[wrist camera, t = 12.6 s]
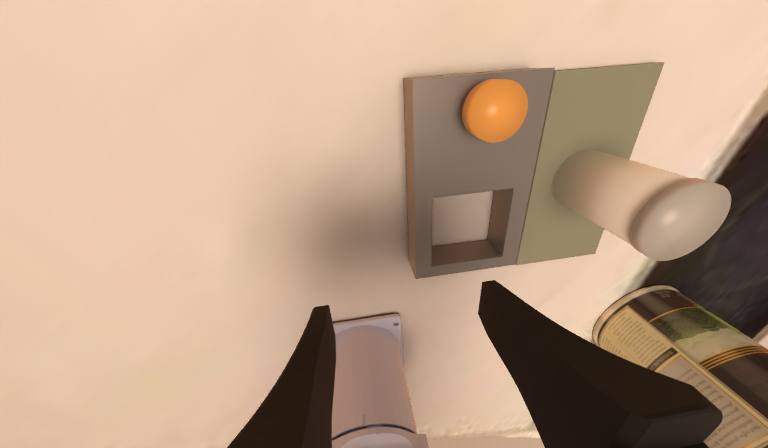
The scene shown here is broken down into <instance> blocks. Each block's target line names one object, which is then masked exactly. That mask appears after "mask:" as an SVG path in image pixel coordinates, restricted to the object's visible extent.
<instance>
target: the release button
mask: <svg viewBox="0 0 768 448" xmlns="http://www.w3.org/2000/svg"><path fill="white" fill-rule="evenodd" d="M527 110H528V98H527V94H526V92H525V90H524V88H523V87H522V86H521V85H520V84H519V83H517V82H515V81H513V80H508V79H488V80H485V81H483V82H481V83H479V84H478V85H476V86H475V87H474V88H473V89H472V90H471V91H470V93H469V94H468V96H467V97H466V99H465V102H464V105H463V109H462V120H463V124H464V126H465V128H466V130H467V131H468V132H469V133H470V134H471V135H473V136H475V137H477V138H479V139H481V140H484V141H486V142H490V143H497V142H501V141H504V140H506V139H508V138H510V137H511V136H512V135H514V134H515V133H516V132H517V131H518V129H519V128H520V127H521V125H522V124H523V122H524V120H525V117H526V114H527Z"/></svg>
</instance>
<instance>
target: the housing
mask: <svg viewBox="0 0 768 448" xmlns="http://www.w3.org/2000/svg"><path fill="white" fill-rule="evenodd" d="M554 69H555V68H527V69H515V70H502V71H490V72H477V73H464V74H452V75H439V76H427V77H414V78H403V84H404V119H405V153H406V187H407V222H408V256H409V262H410V265H411V267H412V270H413V273H414V276H415V278H416V279H418V278H425V277H432V276H439V275H445V274H452V273H459V272H466V271H473V270H480V269H487V268H494V267H500V266H507V265H514V264H515V263H516V258H517V253H518V248H519V243H520V238H521V234H522V229H523V224H524V219H525V214H526V209H527V204H528V199H529V194H530V189H531V184H532V179H533V174H534V169H535V164H536V159H537V154H538V149H539V144H540V139H541V134H542V129H543V124H544V119H545V114H546V109H547V104H548V99H549V94H550V89H551V84H552V79H553V74H554ZM488 79H508V80H513V81H515V82H517V83H519V84H520V85H521V86H522V87H523V88H524V90H525V92H526V94H527V98H528V110H527V114H526V117H525V120H524V122H523V124H522V125H521V127H520V128H519V129H518V131H517V132H516V133H515V134H514V135H512V136H511V137H510V138H508V139H506V140H504V141H501V142H497V143H490V142H486V141H484V140H481V139H479V138H477V137H475V136H473V135H471V134H470V133H469V132H468V131H467V130H466V128H465V126H464V124H463V120H462V109H463V105H464V102H465V99H466V97H467V96H468V94H469V93H470V91H471V90H472V89H473V88H474V87H475V86H476V85H478V84H479V83H481V82H483V81H485V80H488ZM486 191H494V194H493V201H492V209H491V216H490V224H489V231H488V239H487V240H480V241H473V242H466V243H458V244H451V245H443V246H436V247H432V203H433V198H435V197H444V196H452V195H460V194H469V193H477V192H486Z"/></svg>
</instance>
